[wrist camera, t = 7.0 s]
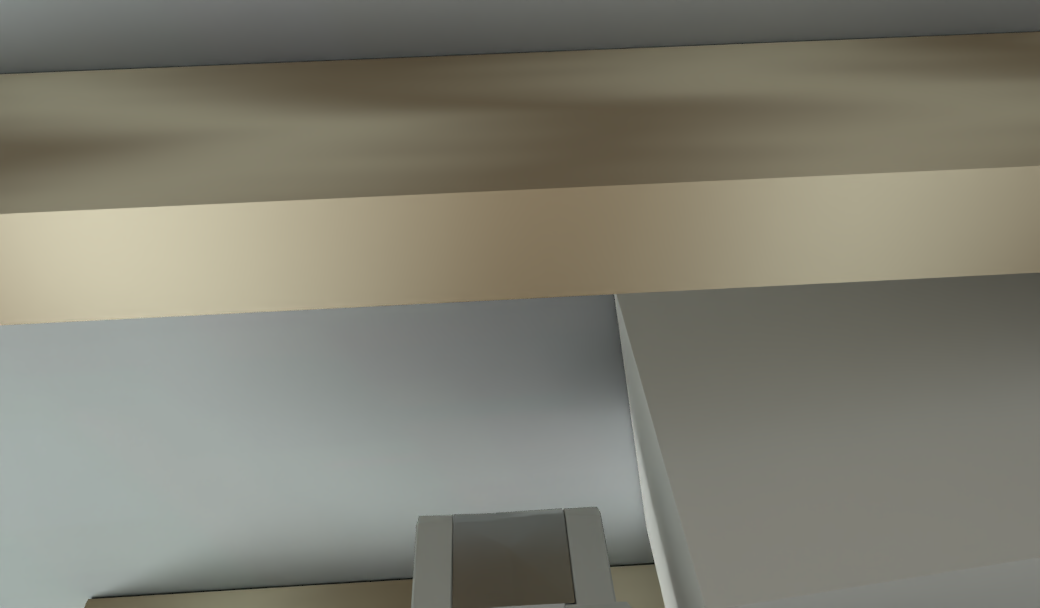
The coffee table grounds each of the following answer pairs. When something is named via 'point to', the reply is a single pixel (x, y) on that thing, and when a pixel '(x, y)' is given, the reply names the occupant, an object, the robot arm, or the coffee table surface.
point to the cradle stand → (511, 188)
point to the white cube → (840, 442)
